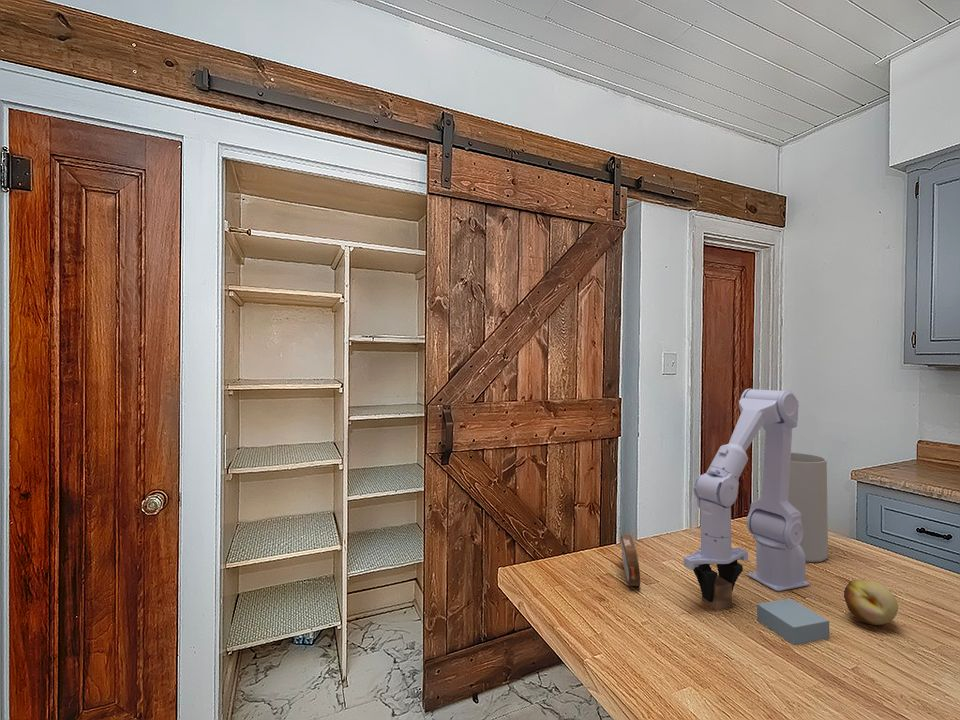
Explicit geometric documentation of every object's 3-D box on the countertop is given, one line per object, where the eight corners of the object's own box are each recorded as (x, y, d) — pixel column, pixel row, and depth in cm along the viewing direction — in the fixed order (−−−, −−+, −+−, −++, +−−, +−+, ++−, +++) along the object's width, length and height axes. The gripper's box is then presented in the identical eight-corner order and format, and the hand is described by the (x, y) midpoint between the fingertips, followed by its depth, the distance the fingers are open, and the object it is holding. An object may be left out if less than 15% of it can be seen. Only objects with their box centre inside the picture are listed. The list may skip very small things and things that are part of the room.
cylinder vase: (777, 539, 128) (776, 450, 127) (832, 552, 118) (831, 457, 118) (763, 552, 119) (761, 457, 119) (822, 568, 110) (820, 465, 110)
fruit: (835, 617, 89) (835, 577, 89) (860, 608, 93) (860, 568, 93) (882, 639, 82) (882, 595, 82) (907, 628, 86) (906, 585, 86)
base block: (790, 615, 91) (790, 598, 91) (829, 639, 83) (829, 620, 83) (757, 621, 89) (756, 603, 89) (793, 646, 81) (793, 627, 81)
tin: (641, 593, 100) (641, 555, 100) (626, 592, 100) (626, 554, 100) (632, 563, 115) (632, 529, 114) (619, 562, 115) (619, 529, 115)
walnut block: (717, 598, 97) (716, 575, 97) (732, 608, 93) (731, 583, 93) (701, 601, 96) (701, 577, 96) (716, 611, 92) (715, 586, 92)
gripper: (728, 522, 100) (729, 583, 101) (673, 530, 97) (674, 593, 97) (755, 534, 94) (757, 599, 94) (697, 542, 90) (698, 611, 90)
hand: (716, 597), depth 95 cm, fingers closed on walnut block, 4 cm apart
